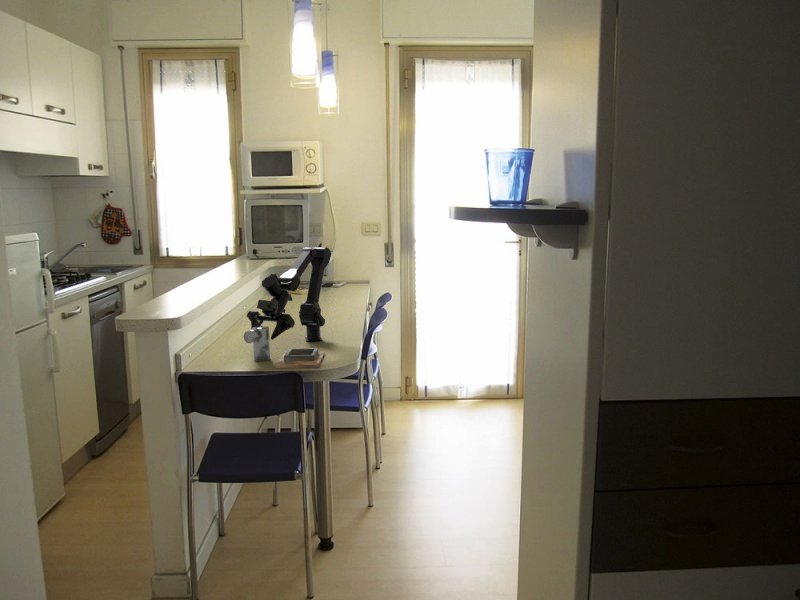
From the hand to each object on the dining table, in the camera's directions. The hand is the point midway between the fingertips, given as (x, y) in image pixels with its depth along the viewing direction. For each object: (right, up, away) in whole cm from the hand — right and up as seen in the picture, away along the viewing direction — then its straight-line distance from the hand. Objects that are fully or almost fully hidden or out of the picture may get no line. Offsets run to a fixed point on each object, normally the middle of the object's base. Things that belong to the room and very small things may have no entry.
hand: (261, 338), depth 235 cm
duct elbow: (-1, -8, -1) cm, 8 cm away
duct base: (+15, -8, -2) cm, 17 cm away
